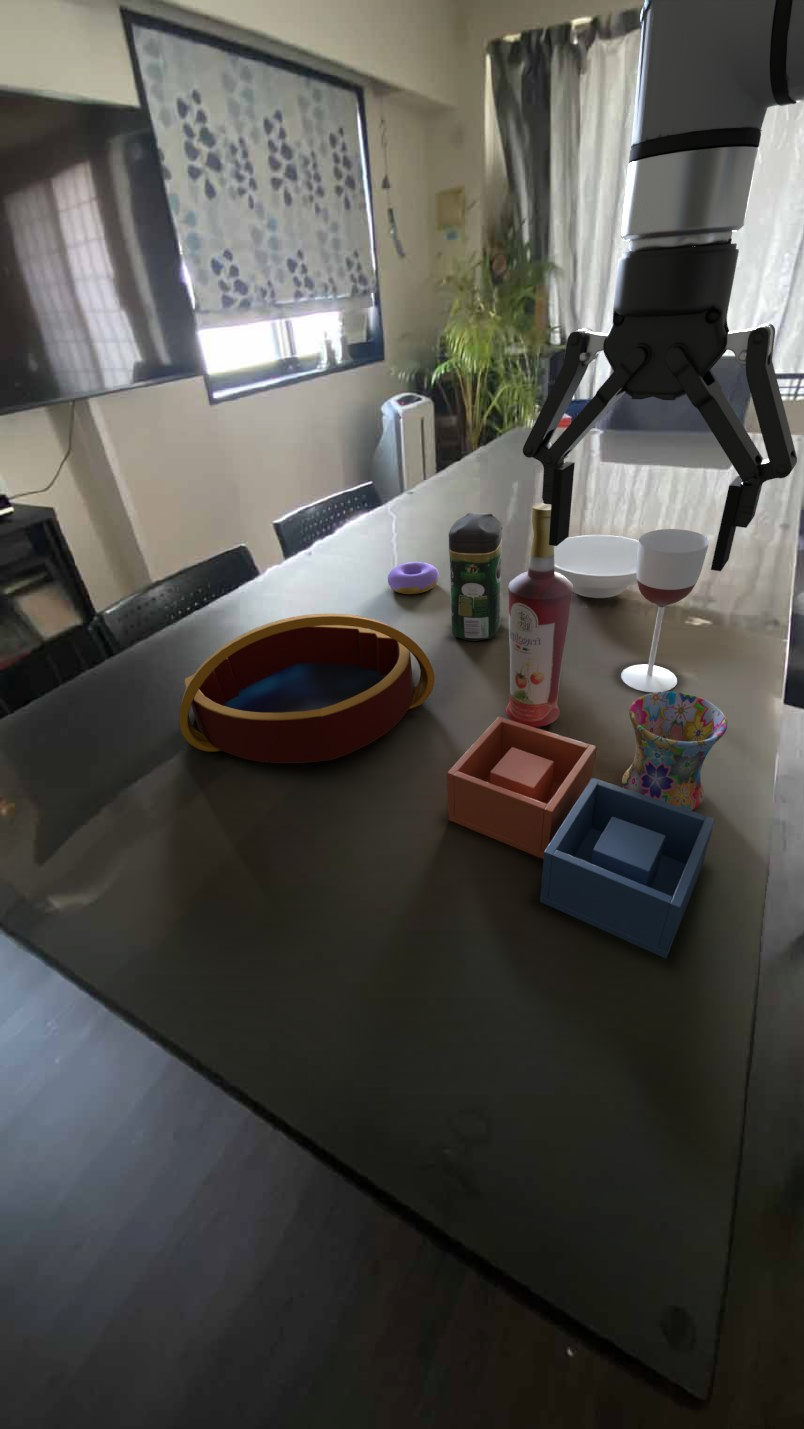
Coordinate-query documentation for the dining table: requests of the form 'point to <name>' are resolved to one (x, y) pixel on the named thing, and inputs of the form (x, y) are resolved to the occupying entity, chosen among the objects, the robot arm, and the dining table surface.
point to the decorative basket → (304, 689)
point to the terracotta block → (524, 774)
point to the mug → (672, 746)
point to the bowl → (597, 564)
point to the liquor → (537, 630)
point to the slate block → (629, 851)
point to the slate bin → (615, 898)
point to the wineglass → (664, 591)
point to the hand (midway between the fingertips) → (634, 552)
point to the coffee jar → (475, 576)
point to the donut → (413, 578)
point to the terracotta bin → (507, 810)
